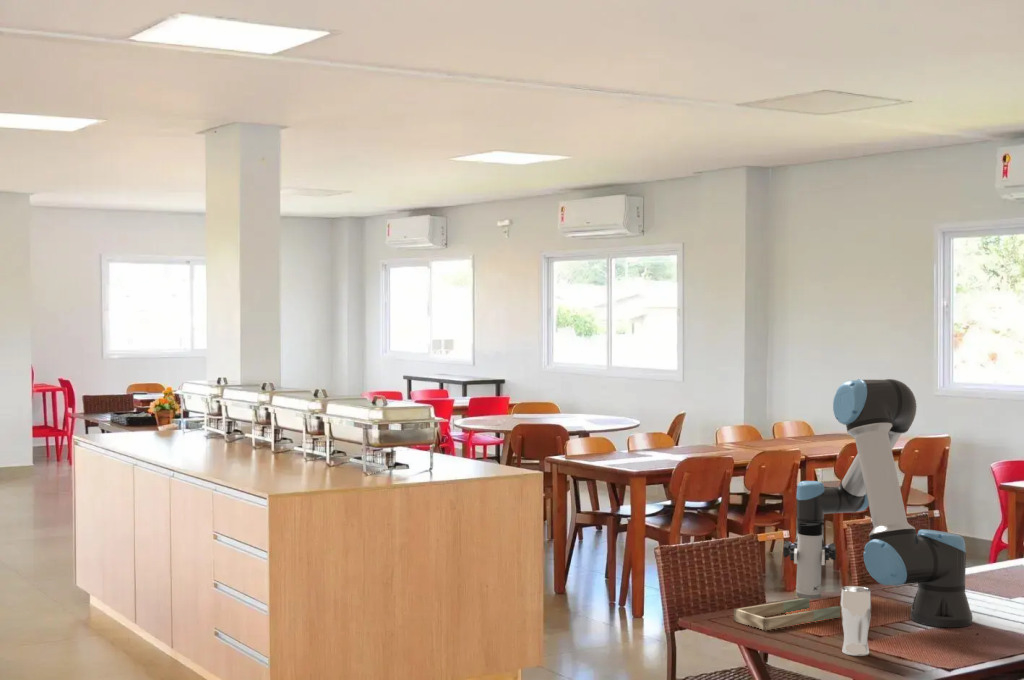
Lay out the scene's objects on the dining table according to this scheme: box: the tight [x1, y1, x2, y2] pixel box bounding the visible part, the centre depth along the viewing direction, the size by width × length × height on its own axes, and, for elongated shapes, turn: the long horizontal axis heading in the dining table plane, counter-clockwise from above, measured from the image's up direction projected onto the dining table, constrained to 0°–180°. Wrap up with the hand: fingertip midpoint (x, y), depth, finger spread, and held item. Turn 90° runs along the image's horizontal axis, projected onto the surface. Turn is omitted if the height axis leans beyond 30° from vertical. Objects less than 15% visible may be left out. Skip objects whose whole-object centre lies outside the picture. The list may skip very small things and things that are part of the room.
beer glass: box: [839, 585, 872, 657], centre depth 273 cm, size 7×7×15 cm
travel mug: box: [795, 521, 825, 600], centre depth 307 cm, size 6×7×20 cm
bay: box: [733, 598, 841, 631], centre depth 303 cm, size 12×26×3 cm, turn 120°
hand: (809, 559), depth 303 cm, fingers closed on travel mug, 6 cm apart
